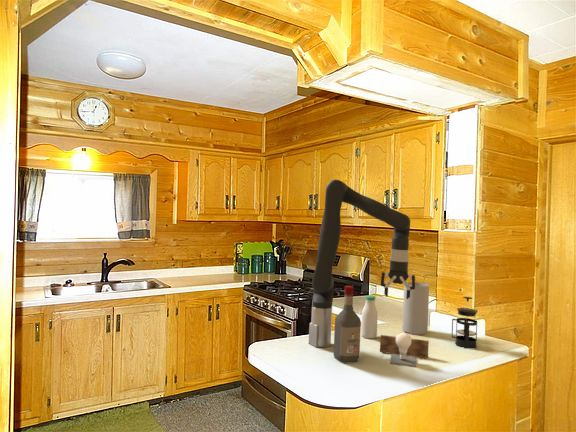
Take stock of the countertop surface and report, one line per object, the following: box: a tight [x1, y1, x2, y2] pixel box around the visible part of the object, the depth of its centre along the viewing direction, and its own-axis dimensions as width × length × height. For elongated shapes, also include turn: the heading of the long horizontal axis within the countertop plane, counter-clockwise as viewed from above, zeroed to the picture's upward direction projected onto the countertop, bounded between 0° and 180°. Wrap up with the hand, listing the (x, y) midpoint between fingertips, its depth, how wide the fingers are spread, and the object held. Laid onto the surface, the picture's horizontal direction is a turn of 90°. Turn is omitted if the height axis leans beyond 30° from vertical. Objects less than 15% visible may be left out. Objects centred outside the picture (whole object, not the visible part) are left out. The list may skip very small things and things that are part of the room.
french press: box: [451, 296, 478, 349], centre depth 190 cm, size 12×9×23 cm
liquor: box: [333, 285, 361, 364], centre depth 166 cm, size 9×9×30 cm
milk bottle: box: [360, 295, 378, 340], centre depth 198 cm, size 8×8×20 cm
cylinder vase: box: [402, 281, 430, 336], centre depth 210 cm, size 12×12×25 cm
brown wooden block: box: [379, 334, 429, 360], centre depth 174 cm, size 20×5×7 cm, turn 73°
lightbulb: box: [395, 332, 412, 360], centre depth 166 cm, size 6×6×11 cm
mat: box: [389, 353, 417, 368], centre depth 166 cm, size 10×10×1 cm
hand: (396, 297), depth 173 cm, fingers open, 8 cm apart
